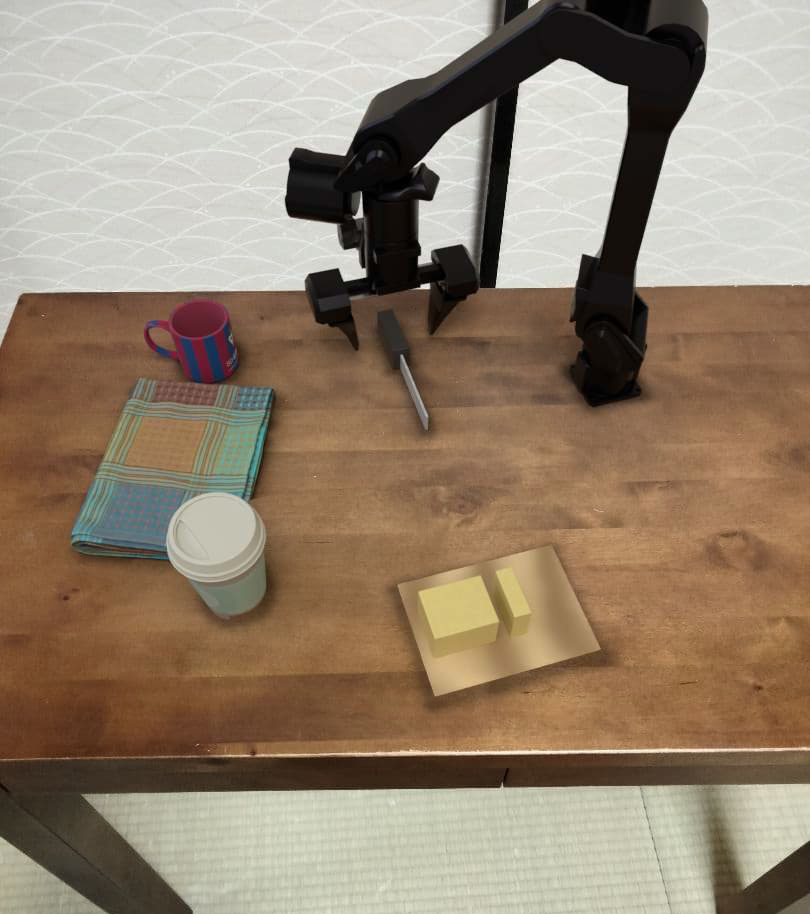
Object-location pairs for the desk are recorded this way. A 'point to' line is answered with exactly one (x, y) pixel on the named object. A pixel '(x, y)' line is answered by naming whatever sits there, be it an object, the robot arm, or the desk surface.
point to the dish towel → (171, 462)
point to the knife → (399, 355)
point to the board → (548, 634)
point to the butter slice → (511, 602)
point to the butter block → (457, 616)
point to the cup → (199, 340)
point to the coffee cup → (220, 551)
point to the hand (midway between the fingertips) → (393, 340)
